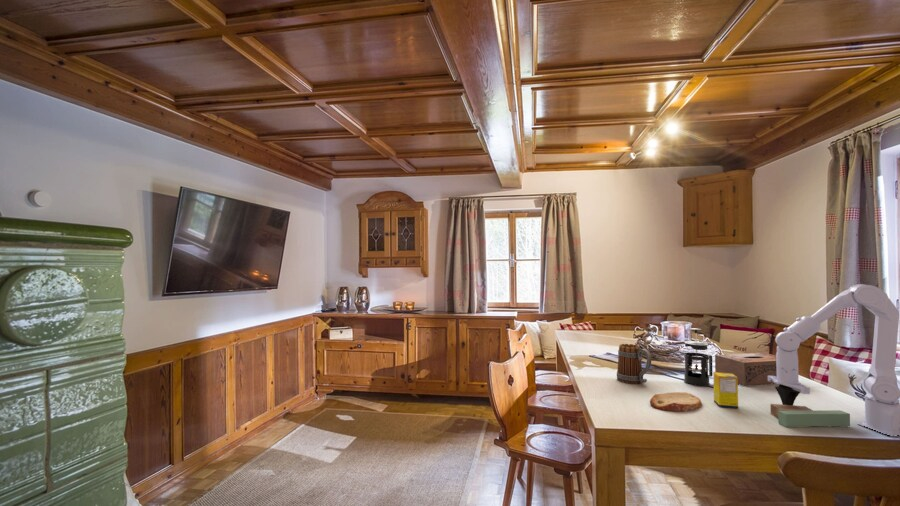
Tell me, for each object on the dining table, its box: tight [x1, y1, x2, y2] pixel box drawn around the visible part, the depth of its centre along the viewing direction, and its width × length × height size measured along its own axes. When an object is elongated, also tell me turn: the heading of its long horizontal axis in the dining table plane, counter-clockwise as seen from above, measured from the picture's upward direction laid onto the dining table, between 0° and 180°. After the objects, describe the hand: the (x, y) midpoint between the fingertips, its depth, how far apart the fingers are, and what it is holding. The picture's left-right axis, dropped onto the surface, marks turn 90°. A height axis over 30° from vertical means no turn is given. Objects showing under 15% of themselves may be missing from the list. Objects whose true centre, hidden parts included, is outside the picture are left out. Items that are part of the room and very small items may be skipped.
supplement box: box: [712, 371, 739, 409], centre depth 147 cm, size 6×6×11 cm
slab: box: [770, 403, 814, 420], centre depth 134 cm, size 6×10×4 cm, turn 76°
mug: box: [616, 343, 652, 385], centre depth 175 cm, size 16×11×15 cm
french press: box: [683, 327, 714, 387], centre depth 174 cm, size 12×9×23 cm
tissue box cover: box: [714, 352, 777, 387], centre depth 179 cm, size 26×14×10 cm, turn 102°
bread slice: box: [649, 391, 703, 413], centre depth 148 cm, size 18×18×4 cm
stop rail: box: [777, 409, 851, 428], centre depth 128 cm, size 3×20×4 cm, turn 91°
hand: (787, 409), depth 138 cm, fingers closed
